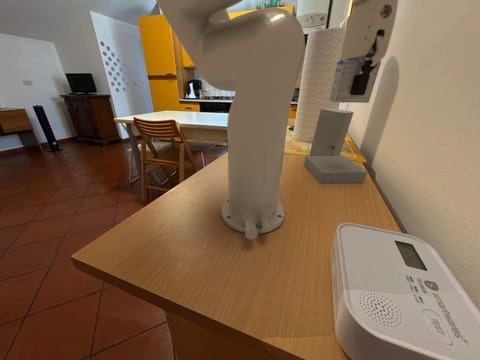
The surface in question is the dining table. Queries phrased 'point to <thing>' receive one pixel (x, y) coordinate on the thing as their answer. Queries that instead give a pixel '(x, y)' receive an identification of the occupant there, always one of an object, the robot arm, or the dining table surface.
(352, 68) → the medicine box
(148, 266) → the dining table surface
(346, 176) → the grey base
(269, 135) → the robot arm
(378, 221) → the dining table surface
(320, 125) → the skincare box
